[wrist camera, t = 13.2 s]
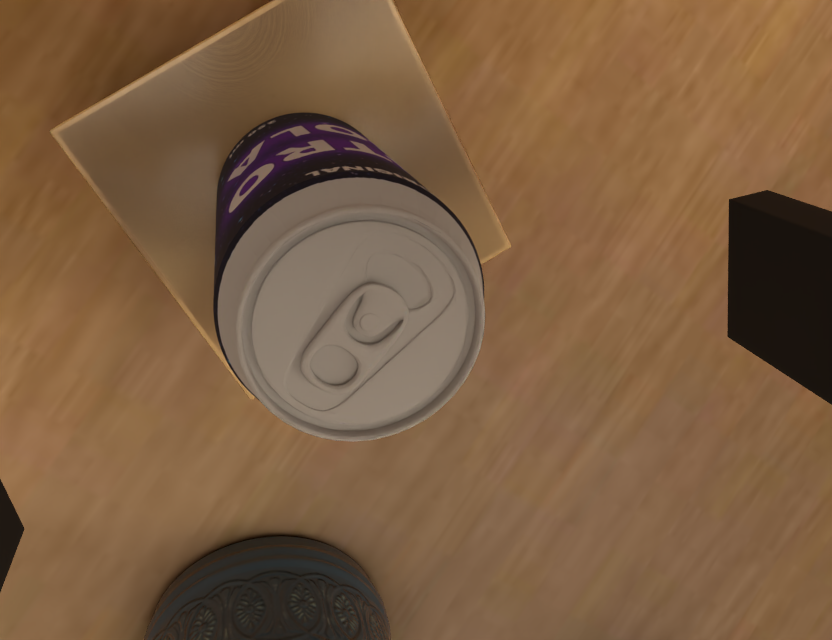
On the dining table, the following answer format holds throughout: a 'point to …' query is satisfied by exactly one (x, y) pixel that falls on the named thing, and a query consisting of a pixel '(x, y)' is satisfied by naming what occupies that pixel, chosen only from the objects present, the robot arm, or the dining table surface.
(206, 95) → the wooden block
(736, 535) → the dining table surface
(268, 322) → the beverage can
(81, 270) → the dining table surface
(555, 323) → the dining table surface
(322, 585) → the canister
